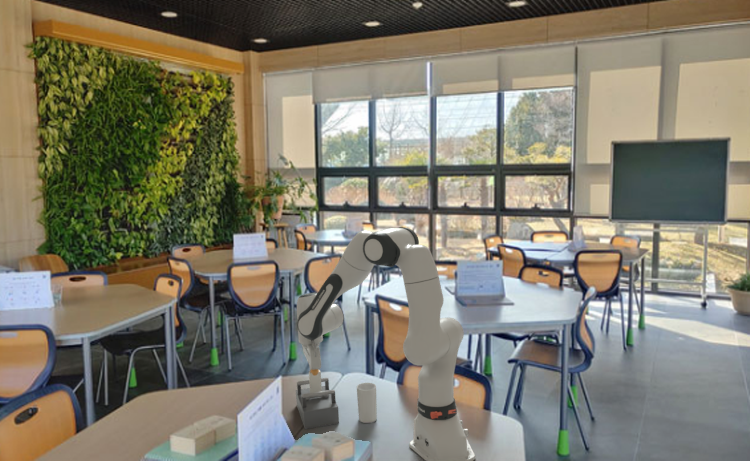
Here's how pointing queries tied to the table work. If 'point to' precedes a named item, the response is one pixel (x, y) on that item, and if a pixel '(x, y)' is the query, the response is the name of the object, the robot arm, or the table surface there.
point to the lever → (315, 381)
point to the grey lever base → (317, 405)
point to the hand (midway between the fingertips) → (312, 372)
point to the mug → (367, 402)
